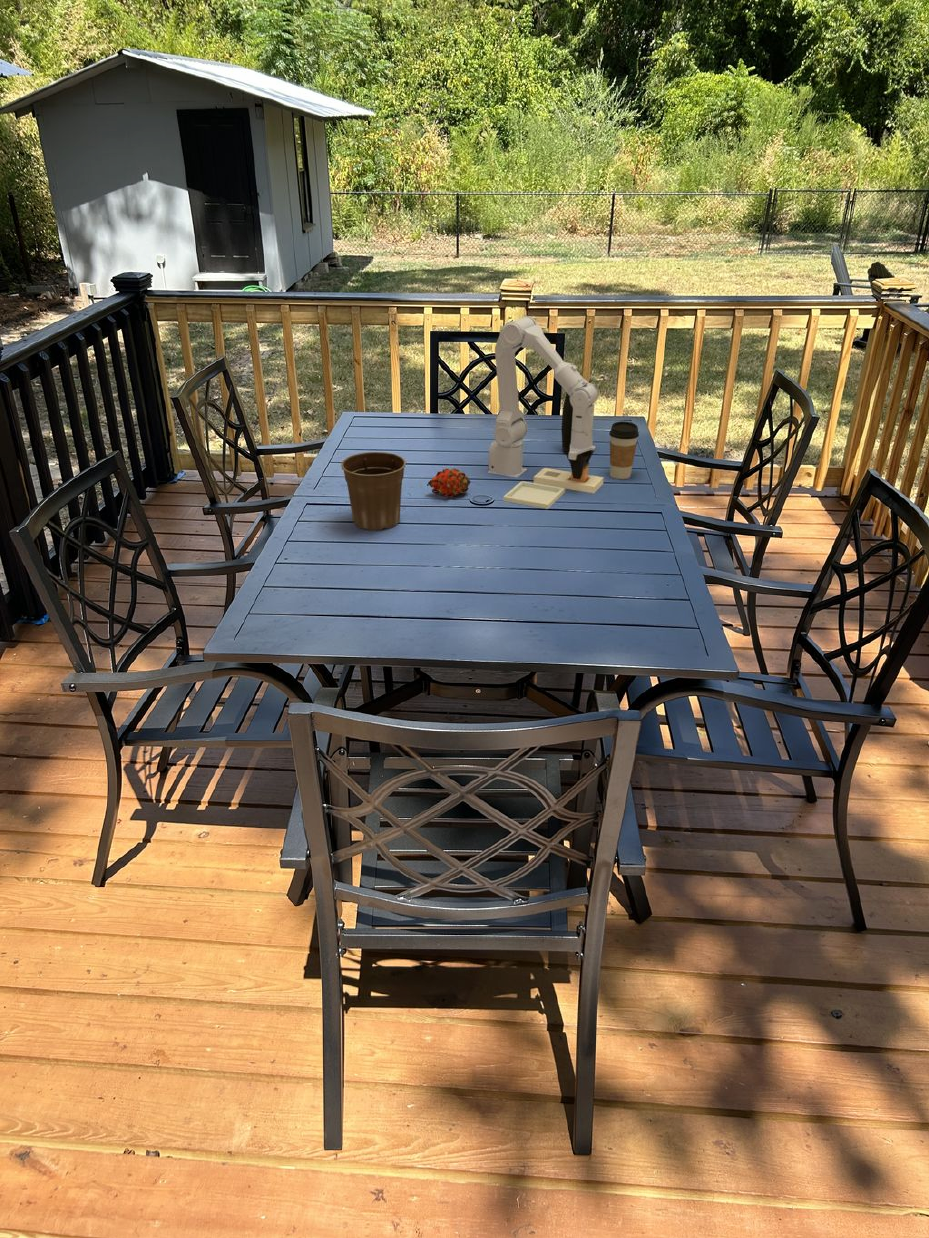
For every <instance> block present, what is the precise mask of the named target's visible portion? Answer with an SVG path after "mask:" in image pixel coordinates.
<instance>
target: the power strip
mask: <svg viewBox="0 0 929 1238" xmlns="http://www.w3.org/2000/svg"><path fill="white" fill-rule="evenodd" d="M533 483H536V484H542V485H548V486H553V487H559V488H565V490H571V491H577V492H582V493H583V492H584V493H588V494H595V493H596V492H597V491H598V490H599V489H600V488H601V487H602V486H603V484H604V477H603V476H597V475H592V474H591V475H590V474H588V481H587V482H586V483H583V482H577V481H571V471H567V470H561V469H554V468H548V467H543V468H542V469H541V470H539V472H537V474H536V475H534V476H533Z"/></svg>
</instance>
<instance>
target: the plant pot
mask: <svg viewBox="0 0 929 1238" xmlns="http://www.w3.org/2000/svg"><path fill="white" fill-rule="evenodd" d="M406 465H407V461H406V460H405V458H403V457H402V456H400V455H399V454H396V453H391V452H383V451H368V452H361V453H360V452H359V453H356V454H352V455H350V456H347V457H346V458H344V459H343V460H342V461H341V469H342V471H343V475H344V479H345V482H346V484H347V485H346V486H347V491H348V497H349V501H350V509H351V514H352V515H351V516H352V522H353V524H354V525H355V527H356V528H360V529H362V530H366V531H382V529H391V528H393V527H395V526H397V525H398V524H399V523H400V520H401V503H402V502H401V501H402V485H403V479H404V473H405V472H404V471H405V468H406Z"/></svg>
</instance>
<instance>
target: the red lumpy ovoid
mask: <svg viewBox="0 0 929 1238" xmlns="http://www.w3.org/2000/svg"><path fill="white" fill-rule="evenodd" d="M470 483H471V480H470V478H469V476H467V475H466V474H465V472H463V471H460V470H459V469H458V468H456V467H453V468H452V469H449V468H443V469H442V470H441V471H437V472H436V475H435V476H434V477H432V479H430V480H429V481H428V482H427V484H426V486H427V487H430V488H432V489H431V492H432V493H433V494H435V495H440V496H442V497H444V496H446V498H447V499H450V498H452V497H457V496H458V497H459V496H460V494H465V493H466V492H468V490H469V486H470Z"/></svg>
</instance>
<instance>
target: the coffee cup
mask: <svg viewBox="0 0 929 1238" xmlns="http://www.w3.org/2000/svg"><path fill="white" fill-rule="evenodd" d="M608 434H609V436H610V440H609V476H610V477H611V478H614V479H616V480H627V479H630V477H631V474H632V469H633V465H634V459H635V455H636V449H637V444H638V442H637V441H638V438H639V436H640V433H639V427H638V426H637V425H636V424H635V423H633V422H631V421H624V420H623V421H617V422H614V423H612V424H611V429H610V431H609V433H608Z"/></svg>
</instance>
